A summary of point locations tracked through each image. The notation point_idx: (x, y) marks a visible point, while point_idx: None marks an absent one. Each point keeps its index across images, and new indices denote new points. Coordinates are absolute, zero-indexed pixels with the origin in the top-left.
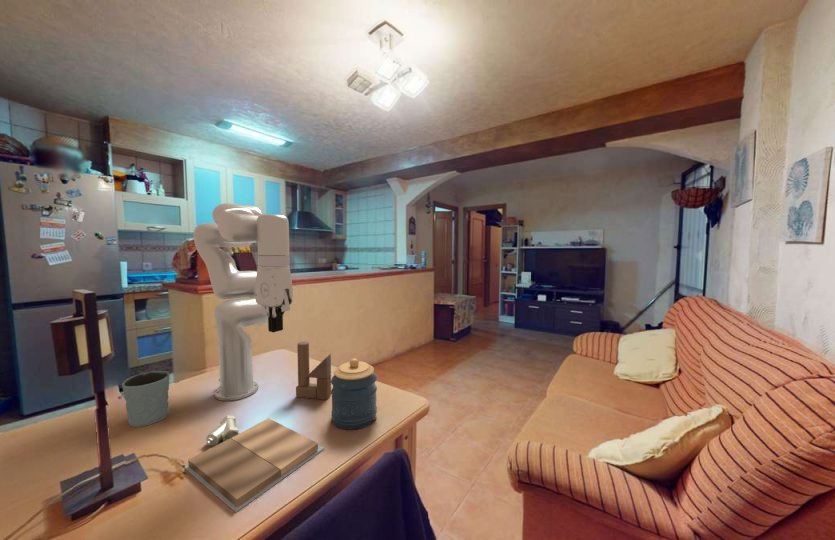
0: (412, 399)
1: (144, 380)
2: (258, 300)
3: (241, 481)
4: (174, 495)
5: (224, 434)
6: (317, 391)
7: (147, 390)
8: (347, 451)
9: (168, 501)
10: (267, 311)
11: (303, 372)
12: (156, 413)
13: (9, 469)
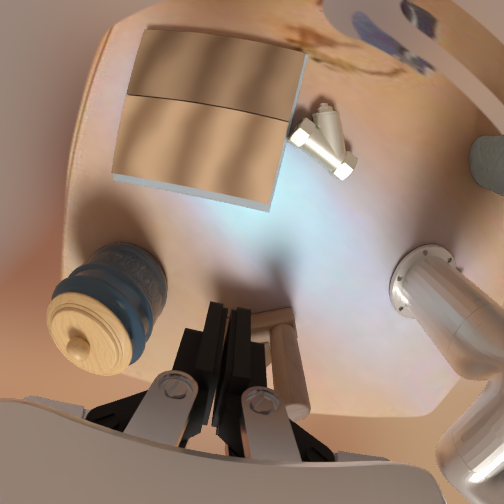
0: None
1: None
2: (382, 497)
3: (165, 50)
4: (262, 15)
5: (304, 119)
6: None
7: None
8: (80, 192)
9: (259, 7)
10: (270, 422)
11: (277, 348)
12: (478, 155)
13: (500, 42)
